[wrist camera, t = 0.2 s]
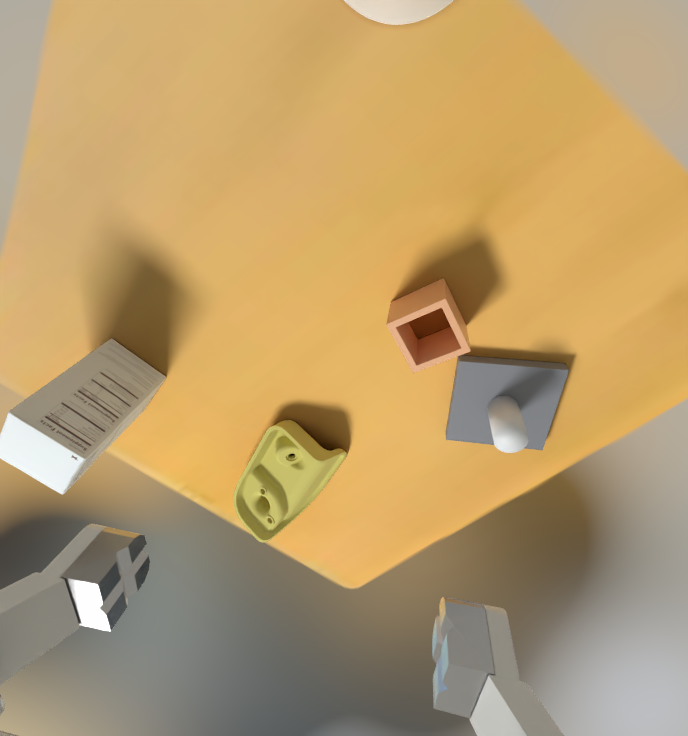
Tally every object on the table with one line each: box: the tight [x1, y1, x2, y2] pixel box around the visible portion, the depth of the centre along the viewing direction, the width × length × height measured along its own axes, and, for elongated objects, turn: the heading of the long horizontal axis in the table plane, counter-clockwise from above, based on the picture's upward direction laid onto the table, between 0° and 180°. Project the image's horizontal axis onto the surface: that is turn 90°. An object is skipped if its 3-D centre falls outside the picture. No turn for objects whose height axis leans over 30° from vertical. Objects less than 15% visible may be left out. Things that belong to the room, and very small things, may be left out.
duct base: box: [446, 355, 569, 453], centre depth 48 cm, size 12×12×8 cm
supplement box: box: [0, 338, 166, 494], centre depth 53 cm, size 10×9×17 cm
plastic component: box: [233, 420, 347, 542], centre depth 63 cm, size 20×7×10 cm
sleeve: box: [386, 278, 471, 373], centre depth 45 cm, size 6×6×6 cm
